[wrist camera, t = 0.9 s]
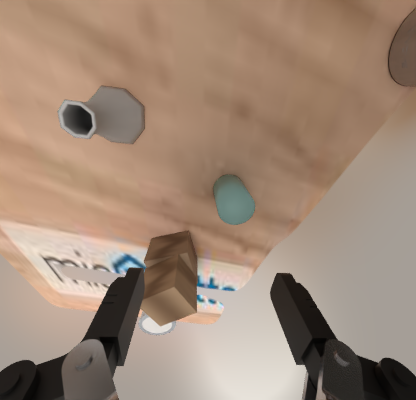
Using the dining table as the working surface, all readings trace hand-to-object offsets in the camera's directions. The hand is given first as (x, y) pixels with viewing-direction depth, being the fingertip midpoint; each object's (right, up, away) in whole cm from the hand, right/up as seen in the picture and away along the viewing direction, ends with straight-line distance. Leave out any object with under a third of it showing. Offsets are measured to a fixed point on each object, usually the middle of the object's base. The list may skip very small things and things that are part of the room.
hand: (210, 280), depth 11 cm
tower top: (-6, -7, +19) cm, 22 cm away
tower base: (-6, -5, +25) cm, 26 cm away
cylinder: (+3, +7, +20) cm, 21 cm away
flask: (-12, +16, +14) cm, 25 cm away
